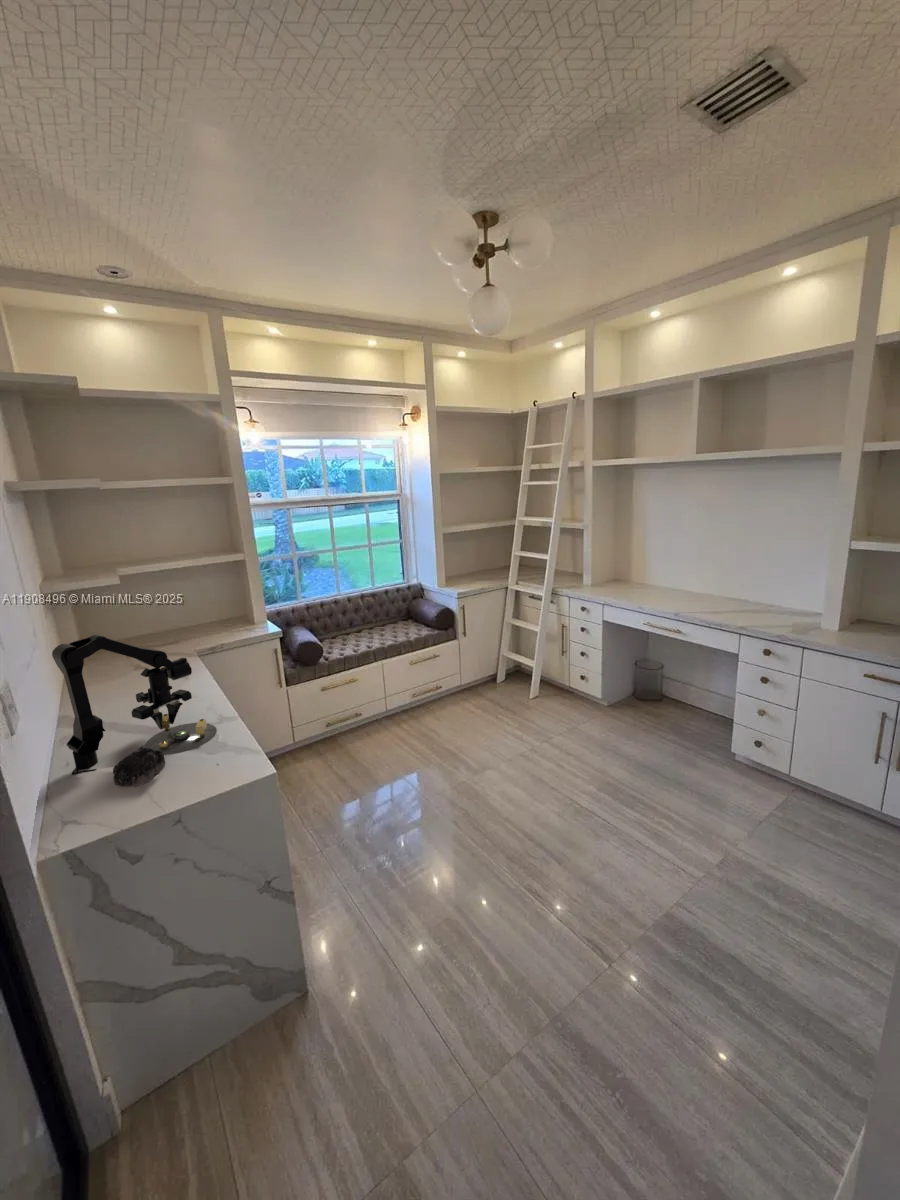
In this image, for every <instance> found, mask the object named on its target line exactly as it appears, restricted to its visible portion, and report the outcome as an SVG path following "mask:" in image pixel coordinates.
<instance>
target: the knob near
mask: <svg viewBox="0 0 900 1200" xmlns="http://www.w3.org/2000/svg"><path fill="white" fill-rule="evenodd" d="M196 723H197V725H196V727H195V728H196V734H197V735H199V734H200V737H201V738H202V737H205V730H206V727H207V724H206V723H207V718H202V719H198V720H197V722H196Z"/></svg>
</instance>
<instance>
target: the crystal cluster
mask: <svg viewBox="0 0 900 1200" xmlns="http://www.w3.org/2000/svg"><path fill="white" fill-rule="evenodd" d="M165 767H166V759H165V755H163V752H162V751H161V750H157V751H156V750H153V749H151V748H146V747H145V746H141V747H139V748H138V750H136V751H135V750H133V752H132V753H130V754H128V755H127V756H125V757H123V758H122V760H121V759H120V760H119V762H118V763H116V764H115V765H114V766H113V768H112V774H113V781H114V782H113V783H114V786H121V787H134V786H142V785H144V784H147V783H148V782H150V781H152V780H153V779H154V778H155V777H156V776H158V775H160V773H159V771H161V770H163V769H164V768H165Z"/></svg>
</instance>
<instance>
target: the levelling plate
mask: <svg viewBox="0 0 900 1200" xmlns="http://www.w3.org/2000/svg"><path fill="white" fill-rule="evenodd" d="M197 723H198V722H192V723H191V722H190V723H185V724H180V725H175V726H172V727H170V731H167V732H166V731H165V729H164V730H162V731H160V732H158V733H156V734H154V735H153V736H151V737H150V738H149V739H148V740H147V741H146V742H145V744H144V747H146V748H151V749H153V750H156V751H157V750H161V751H162V752H163V755H164V756H167V755H168V756H169V755H174V754H180V753H185V752H188V751H192V750H194V749H196V748H199V747H201V746H203V745H205V744H207V743H209V742H210V741H211V740H213V738H214V737H215V736H216V735H217V732H218V729H217V727H216V726H215V725H214V724H212V723H207V722H206V724H207V727H206V730H205V737H202V738H201V737H200V734H199V735H197V734H196V728H195V727H196V725H197Z"/></svg>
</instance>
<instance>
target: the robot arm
mask: <svg viewBox="0 0 900 1200" xmlns="http://www.w3.org/2000/svg"><path fill="white" fill-rule="evenodd" d="M100 650H104V651H107V652H111V653H114V654H118V655H122V656H126V657H129V658H133V659H135V660H136V661H138V662H140V663H143V664H145V665H148V666H150V667H152V668H147V667H145V668H144V669H143V671H141V673H140V676H141V677H145V678H148V683H149V688H147V692H145V693H144V692H143V691H141V692H137V693H136V694H135V699H136V702H137V703H143V704H141V705H140V706H136V707H135V708H133V709H132V710H131V717H132V718H135V719H138V720H142V721H143V720H146V719H148V718H151V719H152V720H153V721H154V723H155V725H156V726H157V727H158V728H159V730H163V728H162V721H163V717H162V715H163V712H162V711H160V709H161V708H163V707H166V708H167V714H169V718H170V725H173V724H174V723H175V720H176V717H177V715H178V713H179V710H180V708H181V706H183V702H187V701H189V700H192V699H193V697H192V692H190V691H189V690H186V689H178V690H176V691H175V690H174V692H171V690H173V686H172V685H170V682H169V679H171V680H172V681H177V680H179V679H182V678H185V677H189V676H191V675H192V673H193V670H192V667H191V664H190V663H189V662H188V659H187V658H186V657H180V658H178V659H176V660H172V661H171V659H169V657H168V655H167V652H165V651H162V650H159V649H156V648H150V647H144V646H143V647H142V646H141V647H140V646H134V645H131V644H128V643H125V642H121V641H118V640H114V639H111V638H108V637H105V636H103V635H100V634H93V635H90V636H88V637H86V638H82V639H79V640H74V641H71V642H69V643H62V644H59V645H57V646H56V647H54V649H53V650H52V652H51V655H52V659H53V661H54V663H55V664H56V666H57V668H58V669H59V670H60V672H61V673H62V675H63V677H64V681H65V685H66V689H67V693H68V696H69V699H70V704H71V707H72V711H73V712H72V713H73V715H74V720H73V724H72V726H73V727H72V729H73V735H72V736H71V737H70V739H69V740H68V741H67V743H66V746H67V747H68V749H69V750H72V756H73V760H74V765H75V768H74V769H73V770H72V771H71V775H76V774H83V773H90V772H95V771H97V768H95V769H91V768H92V767H94V766H95V765H97V764H98V763H99V760H98V754H97V751H99V747H100V742H101V740H102V739H103V738H104V732H106V729H104V726H103V723H104V722H103V719H102V718H100V717H98V716H96V715H95V714H93V711H92V708H91V703H90V699H89V696H88V692H87V686H86V684H85V680H84V676H83V675H84V674H83V670H84V666H85V660H84V659H86V658H89V657H91V656H92V655H94V654H95V653H96V652H98V651H100ZM180 700H181V701H183V702H180ZM145 703H148V704H151V705H145Z"/></svg>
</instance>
